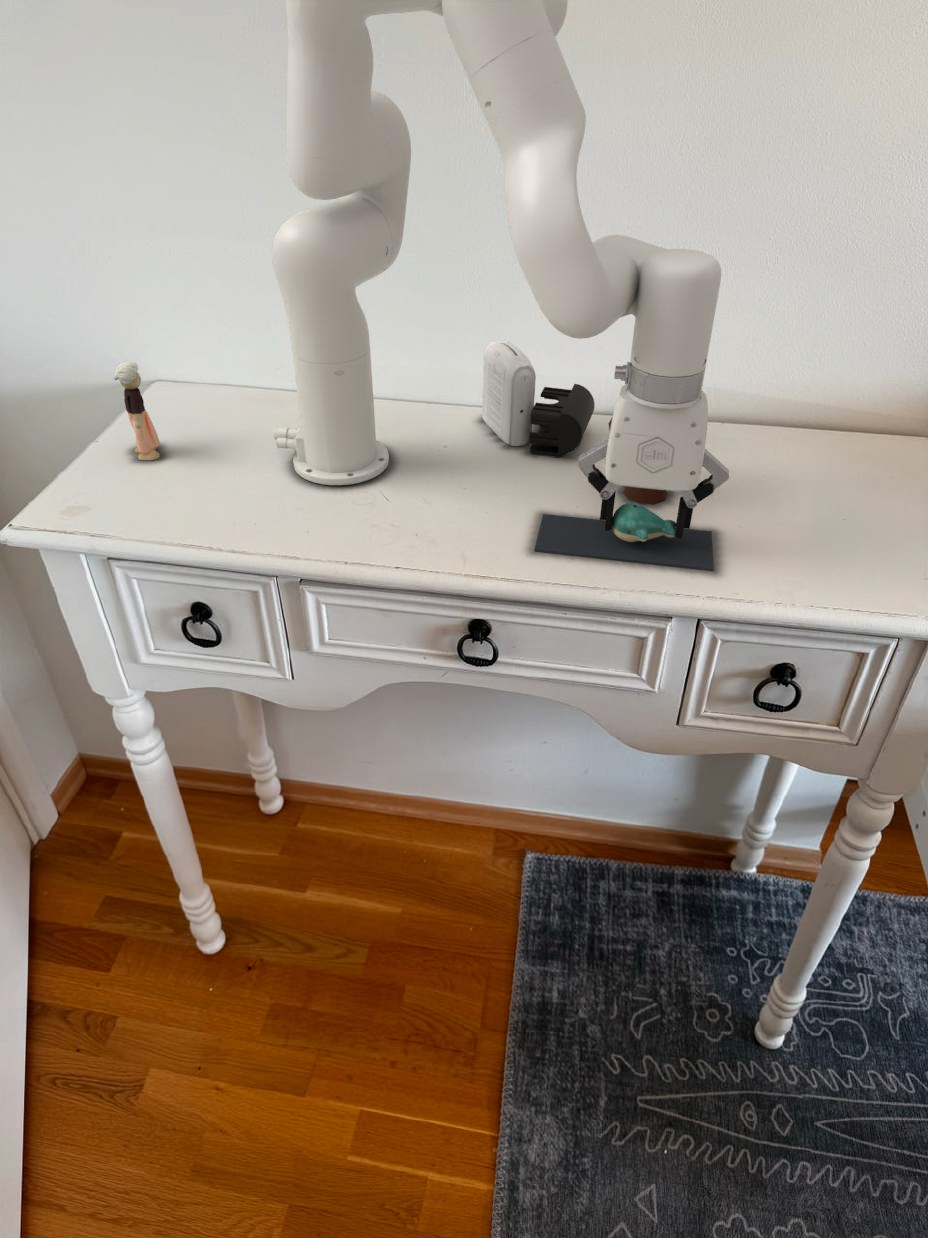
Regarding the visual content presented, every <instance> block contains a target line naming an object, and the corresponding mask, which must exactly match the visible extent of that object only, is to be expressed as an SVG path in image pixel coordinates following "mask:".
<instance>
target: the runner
mask: <svg viewBox="0 0 928 1238" xmlns="http://www.w3.org/2000/svg"><path fill="white" fill-rule="evenodd" d="M605 524H606V520H600V519H597V518H587V517H586V518H585V517H577V516H565V515H557V514H549V513H548V514H547V513H543V514H542V517H541V521H540V524H539V525H540V526H539V530H538V533H537V537H536V542H535V546H534V549H533V550H534V552H537V553H546V554H553V555H554V554H556V555H565V556H573V557H581V558H592V559H602V560H608V561H609V560H610V561H619V562H629V563H635V564H636V563H638V564H645V565H654V566H664V567H673V568H684V569H693V570H701V571H711V572H714V553H713V552H714V548H713V531H712V530H704V529H703V530H702V529H693V528H689V529H687V528H684V530H683V536H682V538H677V537H676V536H675V537H671V538H670V537H666V536H659V537H656V538H652V539H648V540H646V541H645V542H642V541H636V542H627V541H624V540H622V539H620V538H618V537H617V536H616V535H615V534H614V532H613V530H612V526H611V530H609V531H605ZM675 531H676V527H675Z"/></svg>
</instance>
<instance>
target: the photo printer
mask: <svg viewBox="0 0 928 1238" xmlns="http://www.w3.org/2000/svg"><path fill="white" fill-rule="evenodd" d="M482 362H483V364H482V365H483V366H482V368H483V369H482V405H481V414H482V415H481V416H482V420H483V422H485V424H486V425H487V426H488V427H489V428H490V429H491V431H493V433H494V434H496V436H497V437H498V438H499V439H500V440H501V441H503V442H504V443H505V444H507V445H508V446H511V447H521V446H525V445H527V444H529V440H530V432H533V427H534V425H532V424H530V420H531V411H532V409H533V407H534V405H535V396H536V375H537V374H536V370H535V368H534V366H533V364H532V362H531V361H530V360H529V358H528V357H527V356H526V354H525V353H524V352H523V351H522V350H521V349H520V348H519V347H517V346H516V345H515V344H513V343H511V342H509V341H505V340H498V341H491V342H490V343H488V345H487V346H486V347H485V349H484V352H483V361H482Z"/></svg>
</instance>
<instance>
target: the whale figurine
mask: <svg viewBox="0 0 928 1238" xmlns="http://www.w3.org/2000/svg"><path fill="white" fill-rule="evenodd" d="M675 528H676V521H674V520H673V519H663V518H662V517H660V516H659V515H658V514H656V513H655V512H653V511H652V510H650V509H648V508H647V507H645V506H643V505H642V504H639V503H637V502H626V503H624V504H621V505H620V506H619V507H618V508H616V510H615V511H614V512H613V518H612V530H613V532H614V534H615V535H616V536H617V537H618V538H620V539H622V540H624V541H627V542H636V541H642V542H645V541H646V540H648V539H652V538H656V537H659V536H666V537H670V538H671V537H675V536H676V531H675Z"/></svg>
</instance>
